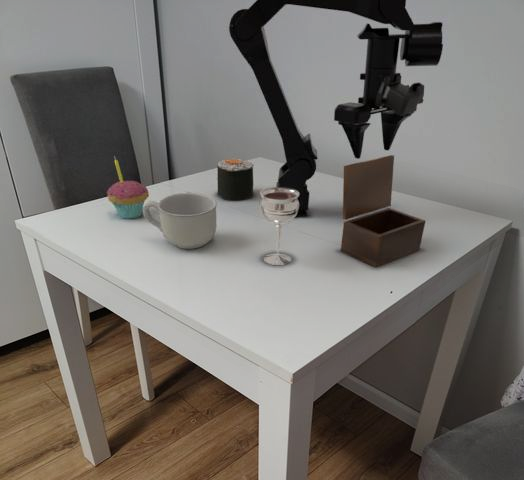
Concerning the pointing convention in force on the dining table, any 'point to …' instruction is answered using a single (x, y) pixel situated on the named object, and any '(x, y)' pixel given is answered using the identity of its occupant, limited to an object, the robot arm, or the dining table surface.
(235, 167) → the sushi
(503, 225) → the dining table surface
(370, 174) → the lid
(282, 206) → the wineglass
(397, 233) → the chest
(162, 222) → the teacup
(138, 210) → the cupcake
